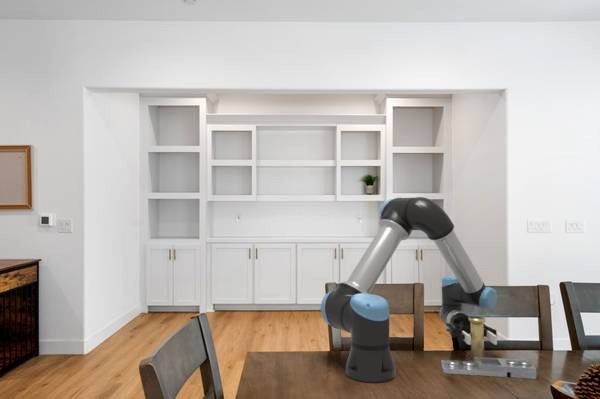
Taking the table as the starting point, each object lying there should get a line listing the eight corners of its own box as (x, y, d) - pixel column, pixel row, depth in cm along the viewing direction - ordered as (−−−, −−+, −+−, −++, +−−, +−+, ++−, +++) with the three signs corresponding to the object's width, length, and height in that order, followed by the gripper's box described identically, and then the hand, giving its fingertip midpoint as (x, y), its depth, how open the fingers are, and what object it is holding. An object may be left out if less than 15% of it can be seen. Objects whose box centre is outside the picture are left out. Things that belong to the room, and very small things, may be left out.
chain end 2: (478, 375, 137) (478, 363, 137) (474, 366, 144) (474, 355, 145) (536, 379, 133) (536, 366, 133) (528, 369, 141) (528, 358, 141)
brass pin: (470, 362, 148) (469, 319, 148) (468, 357, 153) (467, 315, 153) (487, 363, 147) (486, 320, 147) (484, 358, 152) (483, 316, 152)
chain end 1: (443, 373, 139) (443, 365, 139) (441, 364, 147) (441, 357, 147) (506, 377, 135) (506, 369, 135) (500, 368, 143) (500, 360, 143)
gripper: (488, 333, 168) (515, 352, 145) (432, 332, 168) (450, 352, 146) (487, 312, 168) (514, 328, 145) (431, 312, 169) (450, 328, 146)
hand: (482, 340), depth 145 cm, fingers open, 8 cm apart
